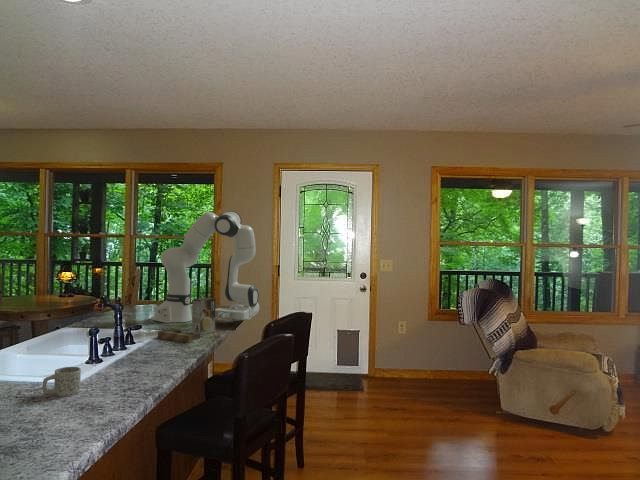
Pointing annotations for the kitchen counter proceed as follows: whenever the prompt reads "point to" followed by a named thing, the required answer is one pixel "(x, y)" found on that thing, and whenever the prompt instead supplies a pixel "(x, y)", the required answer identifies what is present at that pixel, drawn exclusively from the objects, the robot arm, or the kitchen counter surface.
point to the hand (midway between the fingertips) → (220, 315)
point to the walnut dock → (177, 336)
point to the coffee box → (203, 315)
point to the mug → (64, 382)
